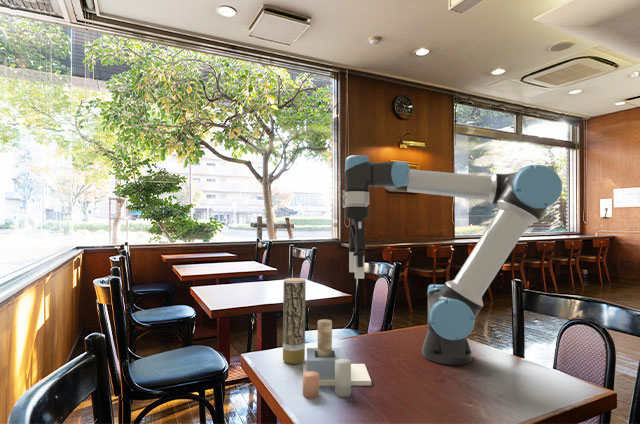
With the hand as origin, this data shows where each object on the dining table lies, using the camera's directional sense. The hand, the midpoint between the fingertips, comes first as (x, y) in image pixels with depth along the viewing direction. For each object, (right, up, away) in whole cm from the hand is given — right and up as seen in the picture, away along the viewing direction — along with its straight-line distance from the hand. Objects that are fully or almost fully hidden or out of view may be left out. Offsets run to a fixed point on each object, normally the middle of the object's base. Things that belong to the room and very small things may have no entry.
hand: (356, 275), depth 116 cm
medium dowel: (-5, -26, -21) cm, 34 cm away
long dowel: (-10, -25, -11) cm, 29 cm away
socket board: (-7, -26, -11) cm, 29 cm away
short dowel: (-13, -26, -22) cm, 37 cm away
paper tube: (-19, -27, +1) cm, 33 cm away
